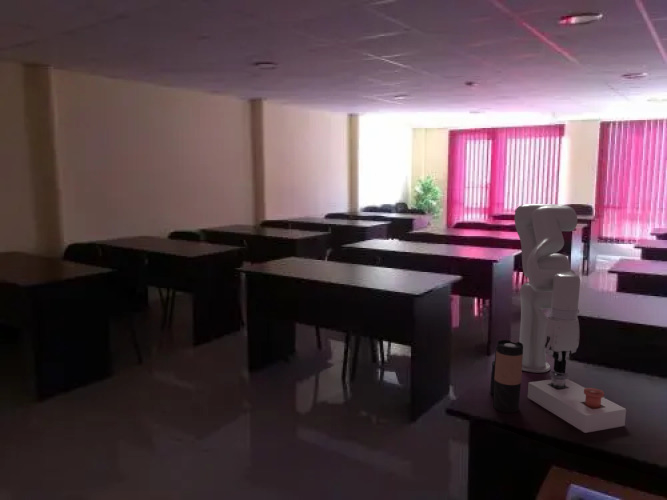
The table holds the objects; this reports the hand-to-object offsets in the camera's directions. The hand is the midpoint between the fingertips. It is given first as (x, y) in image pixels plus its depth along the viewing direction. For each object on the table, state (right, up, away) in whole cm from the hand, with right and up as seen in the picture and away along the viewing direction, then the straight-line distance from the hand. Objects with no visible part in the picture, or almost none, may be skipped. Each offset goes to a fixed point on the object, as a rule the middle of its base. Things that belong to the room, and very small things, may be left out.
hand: (559, 371), depth 166 cm
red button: (+4, -7, -12) cm, 15 cm away
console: (+2, -11, -5) cm, 12 cm away
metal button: (0, -5, +1) cm, 5 cm away
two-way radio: (-17, -9, +7) cm, 20 cm away
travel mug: (-17, -10, -3) cm, 21 cm away
